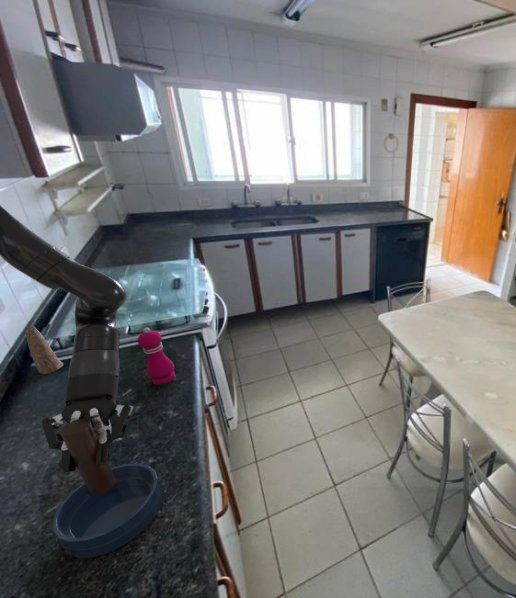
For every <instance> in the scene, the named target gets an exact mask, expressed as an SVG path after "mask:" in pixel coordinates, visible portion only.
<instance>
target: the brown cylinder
mask: <svg viewBox="0 0 516 598" xmlns="http://www.w3.org/2000/svg"><path fill="white" fill-rule="evenodd" d="M60 434H61V436H62V438H63V440H64V442H65V444H66V446H67V448H68V450H69V452H70V454H71V456H72V458H73V460H74V462H75V464H76V469H77V470H78V473H79V474H80V476H81V478H82V480H83V483H84V482H85V484H86V486H87V488H88V490H89V492H90V494H91V495H100V494H103V493H105V492H107V491H108V490H110V489H111V488H112V487H113V486H114V484H115V482H116V479H115V477H114V474H113V472H112V470H111V468H112V467H111V465H110V463H109V461H107V462H106V464H105V465H101V466H96V456H97V445H100V442H99V439H98V435H97V433H96V432H95V429H94V428H93V426H92V424H91V422H90V420H89V419H78V420H75V421H72V422H70V423H67V424H65V425H64V426H62V427H61V430H60Z"/></svg>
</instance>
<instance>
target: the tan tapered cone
mask: <svg viewBox="0 0 516 598" xmlns="http://www.w3.org/2000/svg"><path fill="white" fill-rule="evenodd" d="M25 337H26V341H27V345H28V349H29V352H30V354H31V357H32V360H33V362H34V364H35V368H36V370H37V372H38V373H39V374H42V375H49V374H51V373H54V372H56V371H57V370H59V369H61V368H62V367H63V366H64V363H63V362H62V361H61V360H60V359H59V357H58V356H57V354H56V353H55V352H54V351H53V349H52V348H51V346H50V345H49V343H48V341H46V339H45V337H44V335H43V334H42V333H41V332H40V331H39V330H38V329H37V328H36V327H35V326H34V325H31V326H27V329H26V330H25Z"/></svg>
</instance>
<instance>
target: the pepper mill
mask: <svg viewBox="0 0 516 598" xmlns="http://www.w3.org/2000/svg"><path fill="white" fill-rule="evenodd" d="M162 340H163V338H162V334H161V333H160V332H159V331H156V330H151V329H150V328H149V327H144V328H142V333H140V334H139V336H138V337H137V344H138V346H139V347H141V348H142V351H143V354H146V356H147V366H146V373H147V376H148V377H149V378H151V381H152V383H153V384H154V385H159V386H160V385H164V384H168V383H170V382H171V381H173V380H175V379H176V377H177V375H176V373H175V364H174V362H173V361H172V360H171V359H170V358H169V357H168V356H166V354H165V352H164V351H163V347H164V346H163V343H162Z"/></svg>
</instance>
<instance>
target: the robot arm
mask: <svg viewBox="0 0 516 598" xmlns="http://www.w3.org/2000/svg"><path fill="white" fill-rule="evenodd" d="M0 257H1V259H2V260H3V261H5V262H6V263H7V264H8V265H10V267H12V268H14V269H15V270H16V271H19V272H20V273H22V274H24V275H25V276H27V277H28V278H30V279H32V280H34V281H35V282H37V283H38V284H40V285H42V286H44V287H46V288H48V289H50V290H63V291H65V292H67V293H70V294H71V295H74V296H75V297H77V298H76V300H75V306H74V325H75V334H74V338H73V345H72V346H73V347H72V354H71V359H70V362H69V365H68V373H67V382H66V391H65V398H64V399H65V400H64V401H65V405H64V408H63V409H62V410H61V413H59V414H57V415H54V416H51V417H45V418H43V419H42V420H41V426H42V429H43V432H44V436H45V438H46V442H47V446H48V448H49V449H50V450H59V451H61V452H62V453H61V460H60V470H62V471H63V473H70V472H74V471H76V469H77V466H76V464H75V462H74V460H73V458H72V456H71V454H70V452H69V450H68V448H67V446H66V444H65V442H64V440H63V438H62V436H61V434H60V430H61V429H62V427H63V423H64V421H65V422H66V423H67V424H68V423H70V422H72V421H75V420H78V419H89V420H90V422H91V424H92V426H93V429H94V431H95V433H96V436H97V438H98V440H99V442H100V445H97V456H96V466H101V465H105V464H106V462H107V461H108V462H109V461H110V459H111V451H112V443H113V442H114V441H115V440H117V439H119V438H123V437H124V436H125V434H126V431H127V429H128V427H129V424H130V422H131V420H132V417H133V415H134V413H135V410H136V407H135V406H134V405H129V404H128V405H127V404H126V405H122V404H120V403H119V402H118V391H119V377H120V372H121V368H120V365H121V362H120V342H121V334H120V333H121V332H120V329H119V327H117V314H118V310H119V309H120V308H121V307H122V306H123V305H124V304H125V302H126V301H127V292H126V290H125V288H124V287H123V285H121V284H120V283H119V282H118V281H117V280H115V279H114V278H112V277H110V276H109V275H107V274H105V273H103V272H100V271H99V270H96V269H94V268H92V267H90V266H87V265H84V264H82V263H80V262H78V261H76V260H75V259H74V258H73V257H70V255H67V254H66V253H65V252H64V251H61V250H60V249H59V248H57V247H55V246H54V245H52V244H51V243H49V242H48V241H47V240H45V239H43V238H42V237H41V236H39V235H38V234H36V233H35V232H33V231H32V230H31V229H29V228H28V227H27V226H26V225H24V224H23V223H22V222H20V220H18V219H17V218H16V217H15V216H13V215H12V214H11V213H9V211H8V210H7V209H5V208H4V207H3V206H1V205H0ZM115 414H116V415H117V420H116V421H115V424H114V427H113V428H112V422H111V420H110V419H111V418H113V416H114V415H115Z"/></svg>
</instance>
